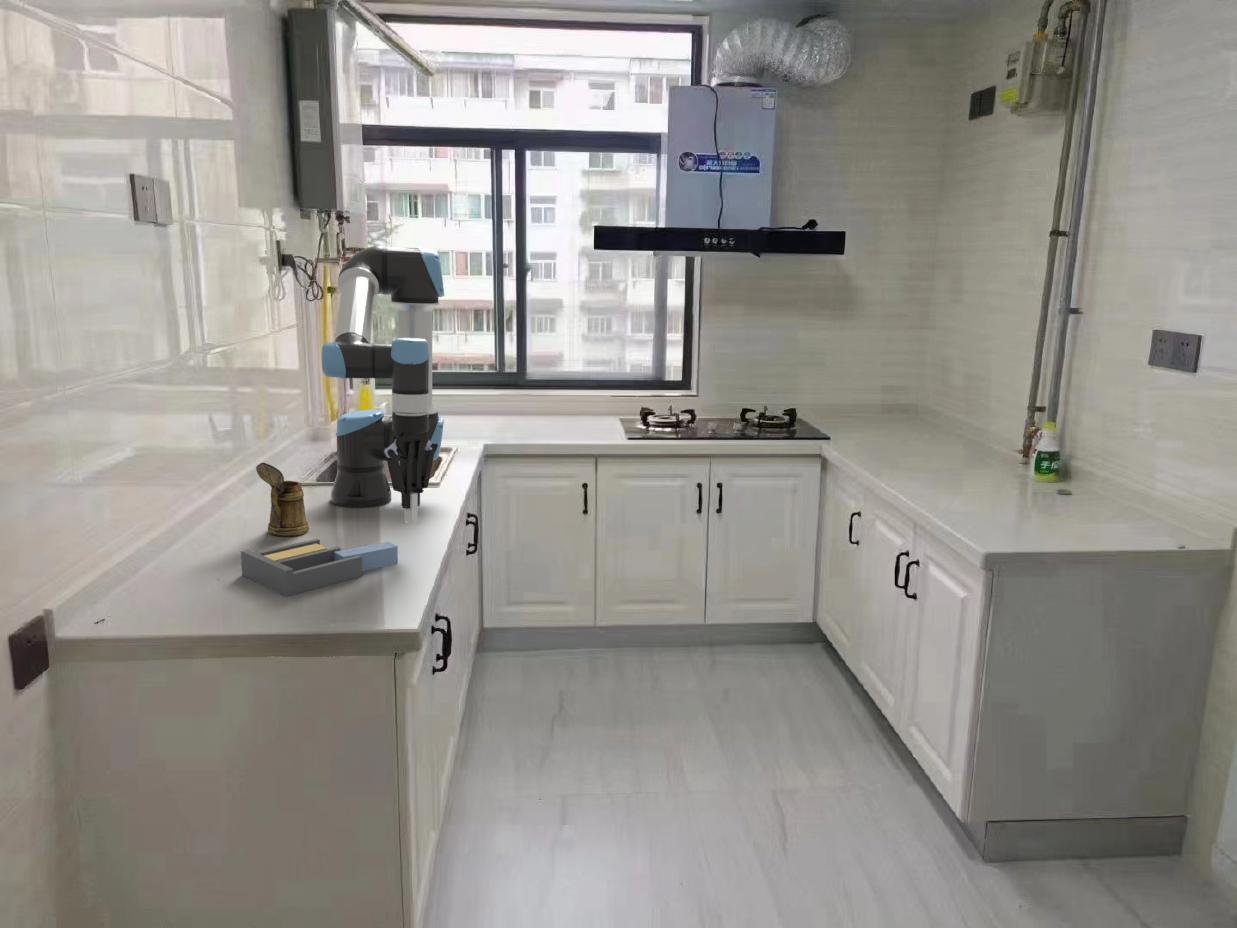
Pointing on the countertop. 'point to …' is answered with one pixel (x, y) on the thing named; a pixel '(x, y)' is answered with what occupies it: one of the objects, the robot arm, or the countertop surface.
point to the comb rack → (299, 568)
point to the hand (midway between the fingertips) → (410, 522)
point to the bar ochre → (295, 552)
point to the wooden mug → (284, 503)
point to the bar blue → (372, 555)
